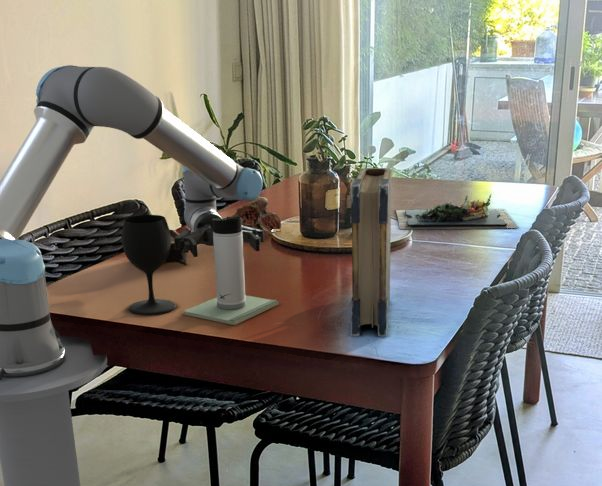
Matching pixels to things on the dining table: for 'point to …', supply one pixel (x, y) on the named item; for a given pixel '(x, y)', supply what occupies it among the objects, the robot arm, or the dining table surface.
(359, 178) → the decorative book
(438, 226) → the plated dish
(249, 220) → the seed pod
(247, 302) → the pale green notebook
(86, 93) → the robot arm
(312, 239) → the dining table surface
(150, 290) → the wine glass
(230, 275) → the travel mug
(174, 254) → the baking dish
